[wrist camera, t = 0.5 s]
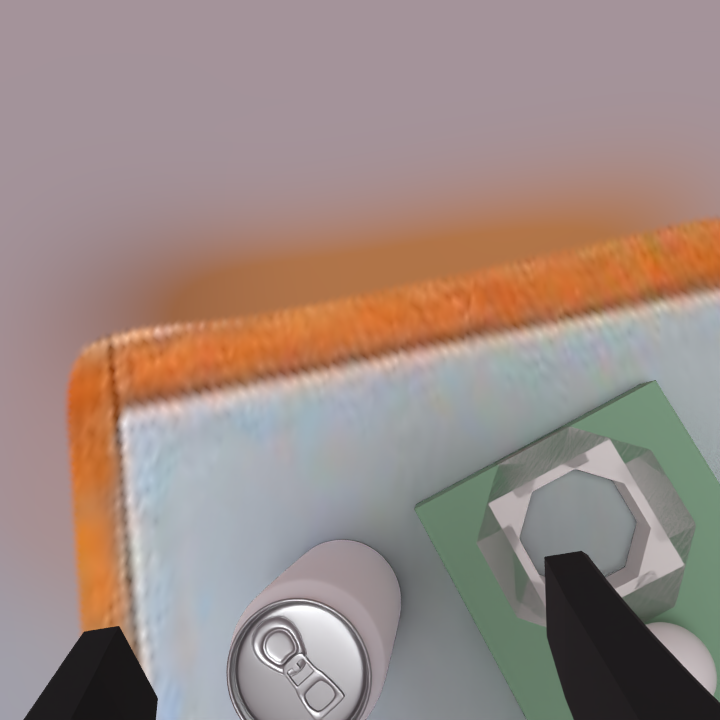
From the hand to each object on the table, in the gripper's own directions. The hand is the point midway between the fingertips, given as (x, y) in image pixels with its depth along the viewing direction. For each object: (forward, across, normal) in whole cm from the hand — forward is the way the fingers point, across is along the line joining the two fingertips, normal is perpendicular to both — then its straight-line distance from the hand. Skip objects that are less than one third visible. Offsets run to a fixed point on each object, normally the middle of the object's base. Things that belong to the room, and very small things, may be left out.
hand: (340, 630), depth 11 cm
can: (+18, +3, +20) cm, 27 cm away
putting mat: (+16, -12, +21) cm, 29 cm away
